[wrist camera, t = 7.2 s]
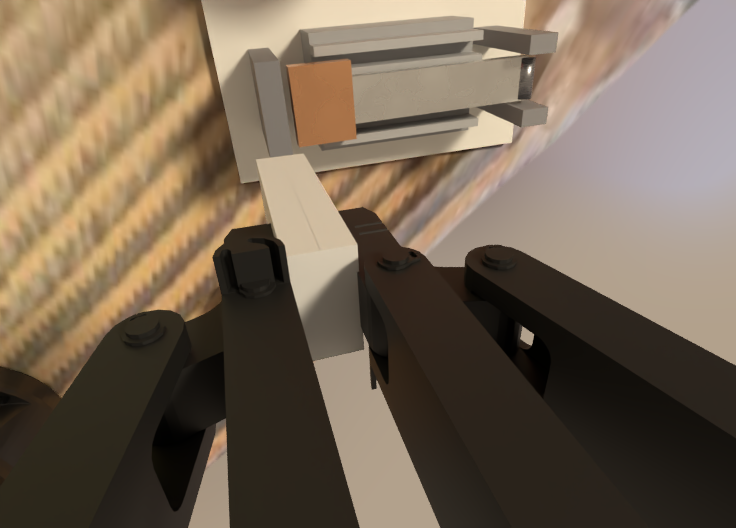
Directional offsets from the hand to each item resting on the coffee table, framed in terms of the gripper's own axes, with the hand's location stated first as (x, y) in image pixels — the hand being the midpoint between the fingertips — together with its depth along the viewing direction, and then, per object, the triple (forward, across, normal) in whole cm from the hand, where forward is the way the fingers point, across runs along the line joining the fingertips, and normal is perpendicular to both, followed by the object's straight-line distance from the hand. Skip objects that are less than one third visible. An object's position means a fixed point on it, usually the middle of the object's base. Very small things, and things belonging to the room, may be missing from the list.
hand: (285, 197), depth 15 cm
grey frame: (+24, +11, 0) cm, 27 cm away
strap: (+18, +11, 0) cm, 21 cm away
